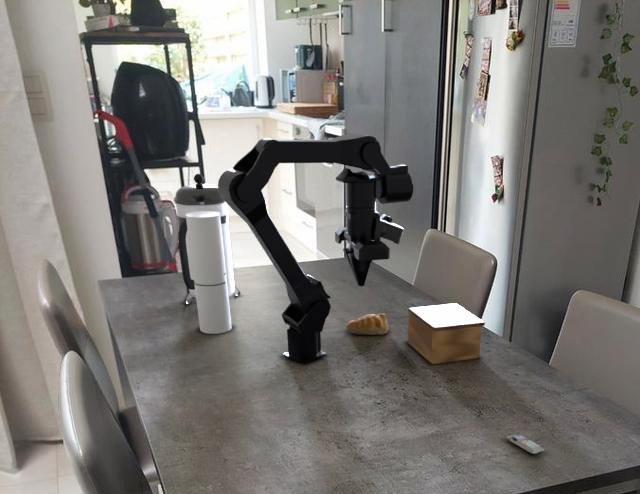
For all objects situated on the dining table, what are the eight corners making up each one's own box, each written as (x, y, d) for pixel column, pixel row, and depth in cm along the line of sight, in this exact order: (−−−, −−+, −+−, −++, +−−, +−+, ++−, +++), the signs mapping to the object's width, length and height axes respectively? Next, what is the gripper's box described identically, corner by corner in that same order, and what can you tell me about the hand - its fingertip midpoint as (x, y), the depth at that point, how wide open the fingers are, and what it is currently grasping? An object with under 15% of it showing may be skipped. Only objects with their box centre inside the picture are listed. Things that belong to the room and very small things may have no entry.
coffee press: (173, 296, 182) (155, 172, 167) (232, 288, 188) (220, 168, 173) (188, 314, 169) (170, 181, 153) (251, 306, 175) (240, 177, 159)
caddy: (451, 337, 155) (453, 307, 152) (479, 358, 144) (481, 326, 141) (407, 342, 152) (408, 311, 149) (432, 364, 141) (433, 331, 138)
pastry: (349, 337, 155) (349, 320, 153) (343, 328, 161) (343, 311, 159) (390, 334, 157) (390, 317, 155) (382, 325, 162) (383, 309, 160)
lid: (455, 306, 152) (455, 303, 151) (484, 325, 141) (485, 322, 140) (408, 311, 149) (408, 308, 148) (433, 331, 138) (434, 327, 137)
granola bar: (544, 453, 109) (545, 447, 108) (533, 457, 108) (534, 451, 107) (515, 436, 114) (516, 430, 113) (505, 439, 113) (505, 434, 112)
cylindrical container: (235, 324, 163) (223, 211, 150) (226, 334, 157) (214, 217, 144) (205, 323, 163) (191, 210, 150) (196, 333, 157) (181, 217, 144)
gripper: (416, 212, 130) (413, 295, 138) (385, 196, 145) (383, 272, 153) (359, 215, 127) (359, 299, 135) (333, 198, 143) (335, 275, 151)
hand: (361, 285), depth 144 cm, fingers closed
